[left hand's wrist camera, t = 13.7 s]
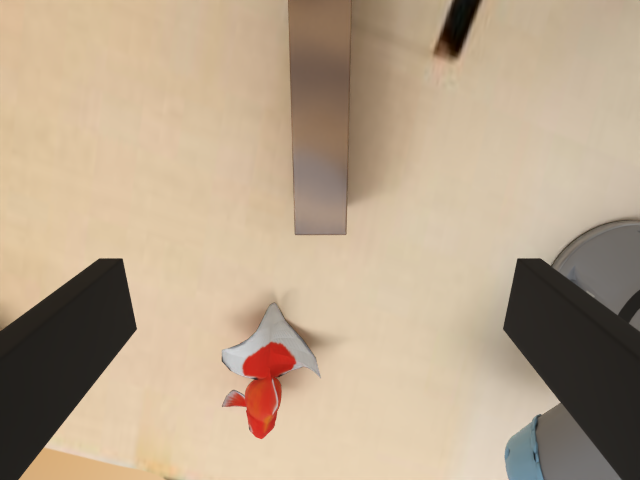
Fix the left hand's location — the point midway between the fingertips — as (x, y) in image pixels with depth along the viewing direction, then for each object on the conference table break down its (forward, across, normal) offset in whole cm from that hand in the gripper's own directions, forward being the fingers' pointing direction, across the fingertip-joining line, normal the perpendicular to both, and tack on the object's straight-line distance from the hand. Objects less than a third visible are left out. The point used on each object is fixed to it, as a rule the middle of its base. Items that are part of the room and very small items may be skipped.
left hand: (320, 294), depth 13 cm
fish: (+28, +6, +23) cm, 37 cm away
